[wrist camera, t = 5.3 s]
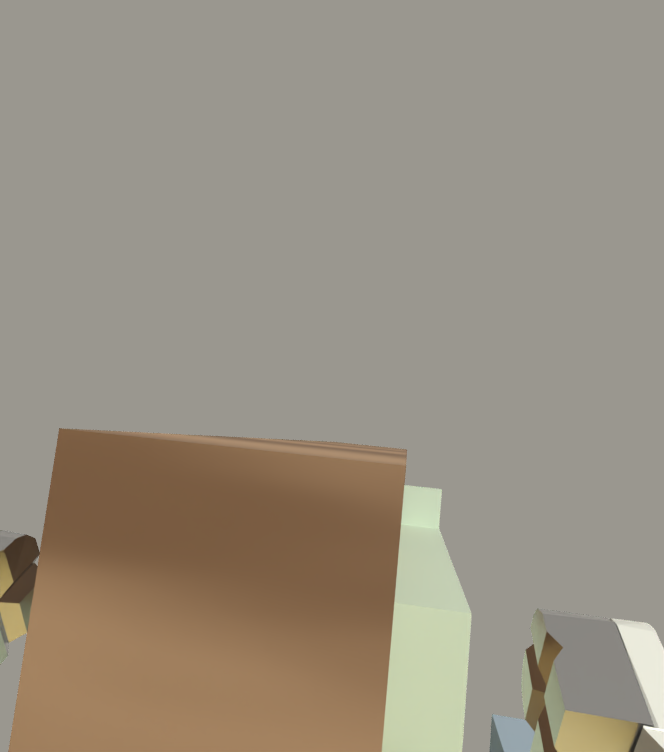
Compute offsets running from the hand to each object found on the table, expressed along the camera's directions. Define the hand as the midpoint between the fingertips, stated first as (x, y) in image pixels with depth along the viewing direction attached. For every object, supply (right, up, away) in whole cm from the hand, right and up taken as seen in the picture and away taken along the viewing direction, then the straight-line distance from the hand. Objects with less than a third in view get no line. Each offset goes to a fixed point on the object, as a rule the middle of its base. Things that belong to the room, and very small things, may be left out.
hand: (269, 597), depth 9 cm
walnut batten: (+1, -3, +9) cm, 9 cm away
